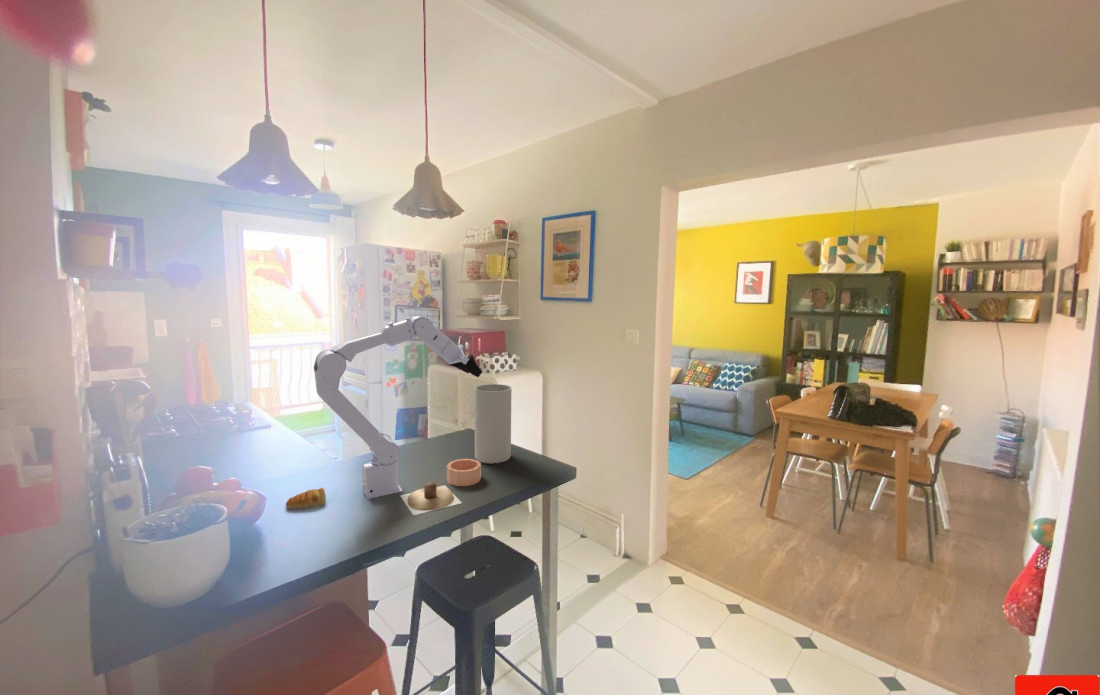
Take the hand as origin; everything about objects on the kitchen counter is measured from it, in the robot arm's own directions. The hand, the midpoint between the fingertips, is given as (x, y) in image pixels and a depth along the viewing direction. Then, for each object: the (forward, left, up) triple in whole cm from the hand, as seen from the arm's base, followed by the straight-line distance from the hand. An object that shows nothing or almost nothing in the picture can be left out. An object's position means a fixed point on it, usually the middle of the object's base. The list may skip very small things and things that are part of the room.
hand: (474, 372), depth 137 cm
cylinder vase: (+10, +8, -32) cm, 35 cm away
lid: (-19, -13, -32) cm, 39 cm away
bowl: (-6, -5, -32) cm, 33 cm away
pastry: (-47, +2, -33) cm, 57 cm away
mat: (-19, -13, -32) cm, 39 cm away
